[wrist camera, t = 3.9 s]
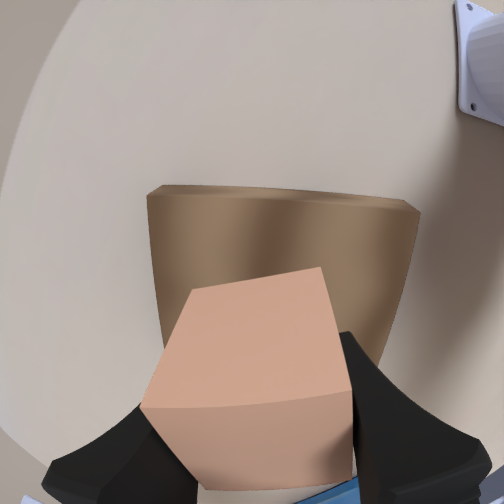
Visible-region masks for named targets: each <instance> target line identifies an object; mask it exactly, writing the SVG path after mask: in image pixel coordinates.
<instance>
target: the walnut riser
mask: <svg viewBox="0 0 504 504" xmlns="http://www.w3.org/2000/svg"><path fill="white" fill-rule="evenodd" d="M147 210H148V224H149V235H150V246H151V256H152V266H153V274H154V283H155V290H156V298H157V305H158V312H159V319H160V325H161V332H162V338H163V344H164V349H165V347H166V345H167V343H168V341H169V338H170V336H171V334H172V332H173V330H174V327H175V325H176V323H177V321H178V319H179V317H180V314H181V312H182V310H183V308H184V306H185V304H186V301H187V299H188V297H189V295H190V293H191V291H192V289H198V288H204V287H210V286H216V285H222V284H227V283H233V282H239V281H245V280H250V279H256V278H262V277H267V276H273V275H278V274H284V273H289V272H295V271H300V270H305V269H311V268H316V267H321V270H322V273H323V277H324V281H325V284H326V288H327V291H328V295H329V299H330V302H331V306H332V310H333V314H334V318H335V321H336V325H337V329H338V333H341V332H346V331H350V332H351V333H352V334H353V336H354V337H355V339H356V341H357V342H358V344H359V345H360V346H361V348H362V349H363V350H364V352H365V353H366V354H367V356H368V357H369V358H370V359H371V360H372V362H373V363H374V364H375V365H376V366H378V364H379V361H380V358H381V356H382V353H383V350H384V347H385V345H386V342H387V339H388V336H389V333H390V330H391V327H392V324H393V321H394V317H395V314H396V311H397V308H398V304H399V301H400V298H401V294H402V291H403V287H404V283H405V280H406V276H407V272H408V268H409V264H410V260H411V256H412V252H413V247H414V243H415V238H416V234H417V229H418V224H419V219H420V214H421V213H420V212H419V211H418V210H416V209H415V208H414V207H412V206H411V205H409V204H408V203H407V202H405V201H404V200H398V199H390V198H381V197H372V196H362V195H352V194H342V193H330V192H318V191H305V190H291V189H275V188H257V187H235V186H203V185H162V186H160V187H159V188H157V189H156V190H154V191H152V192H151V193H149V194H148V195H147Z"/></svg>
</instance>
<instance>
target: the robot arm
mask: <svg viewBox="0 0 504 504" xmlns="http://www.w3.org/2000/svg"><path fill="white" fill-rule="evenodd" d="M466 5H467V6H468V7H469V9H470V10H469V9H468V8H467V6H466ZM455 11H456V21H457V33H458V52H459V99H458V104H459V108H460V110H461V111H462V112H464V113H466V114H469V115H473V116H476V117H479V118H481V119H484V120H487V121H490V122H493V123H495V124H498V125H501V126H503V127H504V12H502V13H499V14H494V13H492V12H490V11H488V10H486V9H484V8H482V7H480V6H478V5H476V4H474V3H472V2H469V1H467V0H455ZM471 104H472V105H473V107H474V109H473V111H472V109H471ZM339 337H340V341H341V345H342V349H343V353H344V357H345V362H346V366H347V370H348V375H349V379H350V383H351V388H352V409H353V447H354V452H355V459H356V467H357V475H358V483H359V492H360V503H361V504H480V502H479V499H478V497H480V496H481V492H480V489H479V486H478V485H479V484H480V483H481V482H482V481H483V480H484V479H485V477H486V476H487V475H488V474H489V472H490V470H491V468H492V462H491V460H490V457H489V455H488V453H487V451H486V449H485V448H484V446H483V445H482V443H481V441H480V440H479V439H477V438H474V437H472V436H470V435H467V434H465V433H463V432H461V431H459V430H457V429H455V428H453V427H451V426H450V425H448V424H446V423H444V422H442V421H441V420H439V419H438V418H436V417H435V416H433V415H432V414H430V413H429V412H427V411H426V410H424V409H423V408H421V407H420V406H419V405H417V404H416V403H415V402H413V401H412V400H411V399H410V398H408V397H407V396H406V395H405V394H404V393H403V392H401V391H400V390H399V389H398V388H397V387H396V386H395V385H394V384H393V383H392V382H391V381H390V380H389V379H388V378H387V377H386V376H385V375H384V374H383V373H382V372H381V371H380V370H379V369H378V367H377V366H376V365H375V364H374V363H373V362H372V360H371V359H370V358H369V357H368V356H367V354H366V353H365V352H364V350H363V349H362V348H361V346H360V345H359V344H358V342H357V341H356V339H355V337H354V336H353V334H352V333H351V332H350V331H346V332H341V333H339ZM140 404H141V403H140ZM140 404H139V405H138V406H137V407H136V408H135V409H134V410H133V411H132V412H131V413H129V414H128V415H127V416H126V417H125V418H124V419H123V420H121V421H120V422H119V423H118V424H117V425H115V426H114V427H113V428H111V429H110V430H108V431H107V432H106V433H104V434H103V435H101V436H100V437H98V438H97V439H95V440H94V441H92V442H90V443H89V444H87V445H85V446H84V447H82V448H80V449H78V450H76V451H74V452H72V453H70V454H67V455H65V456H63V457H61V458H58V459H56V460H53V461H52V463H51V465H50V467H49V469H48V471H47V473H46V475H45V477H44V479H43V481H42V484H41V485H42V487H43V489H44V490H45V491H46V492H47V493H48V494H50V495H51V496H52V497H54V498H55V499H56V500H58V501H59V502H61V503H62V504H197V493H198V481H197V480H196V478H195V477H194V476H193V475H192V474H191V473H190V472H189V471H188V469H187V468H186V467H185V466H184V465H183V464H182V462H181V461H180V460H179V459H178V458H177V456H176V455H175V454H174V453H173V452H172V450H171V449H170V448H169V447H168V445H167V444H166V443H165V441H164V440H163V439H162V438H161V436H160V435H159V434H158V432H157V431H156V430H155V428H154V427H153V426H152V424H151V423H150V422H149V420H148V419H147V418H146V416H145V415H144V413H143V412H142V411H141V409H140V408H139V407H140ZM20 504H44V503H42V502H40V501H38V500H36V499H34V498H32V497H30V496H28V495H24V497H23V499H22V501H21V503H20ZM489 504H504V496H502V497H501V498H499V499H497V500H495V501H493V502H491V503H489Z"/></svg>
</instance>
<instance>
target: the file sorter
mask: <svg viewBox="0 0 504 504" xmlns="http://www.w3.org/2000/svg"><path fill="white" fill-rule="evenodd" d="M296 504H361V503H360V492H359V483H358V477H356V478H354V479H352V480H350V481H348V482H346V483H344V484H342V485H340V486H337V487H335V488H333V489H331V490H328V491H326V492H324V493H321V494H319V495H317V496H314V497H312V498H309V499H307V500H304V501H302V502H299V503H296Z"/></svg>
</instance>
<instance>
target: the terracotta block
mask: <svg viewBox="0 0 504 504" xmlns="http://www.w3.org/2000/svg"><path fill="white" fill-rule="evenodd" d="M139 408H140V409H141V411H142V412H143V413H144V415H145V416H146V418H147V419H148V420H149V422H150V423H151V424H152V426H153V427H154V428H155V430H156V431H157V432H158V434H159V435H160V436H161V438H162V439H163V440H164V441H165V443H166V444H167V445H168V447H169V448H170V449H171V450H172V452H173V453H174V454H175V455H176V456H177V458H178V459H179V460H180V461H181V462H182V464H183V465H184V466H185V467H186V468H187V469H188V471H189V472H190V473H191V474H192V475H193V476H194V477H195V478H196V480H197V481H198V482H199V483H200V484H201V485H202V486H203V487H204V488H205V489H206V490H228V491H248V490H274V489H289V488H300V487H309V486H317V485H324V484H331V483H337V482H343V481H349V480H352V461H353V409H352V388H351V383H350V379H349V375H348V370H347V366H346V362H345V357H344V353H343V349H342V345H341V341H340V337H339V333H338V329H337V325H336V321H335V318H334V314H333V310H332V306H331V302H330V299H329V295H328V291H327V288H326V284H325V281H324V277H323V273H322V270H321V267H316V268H311V269H305V270H300V271H295V272H289V273H284V274H278V275H273V276H267V277H262V278H256V279H250V280H245V281H239V282H233V283H227V284H222V285H216V286H210V287H204V288H198V289H192V291H191V293H190V295H189V297H188V299H187V301H186V304H185V306H184V308H183V310H182V312H181V314H180V317H179V319H178V321H177V323H176V325H175V327H174V330H173V332H172V334H171V336H170V338H169V341H168V343H167V345H166V347H165V350H164V352H163V354H162V356H161V358H160V361H159V363H158V365H157V368H156V370H155V372H154V374H153V377H152V379H151V381H150V384H149V386H148V388H147V390H146V393H145V395H144V397H143V400H142V402H141V404H140V407H139Z"/></svg>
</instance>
